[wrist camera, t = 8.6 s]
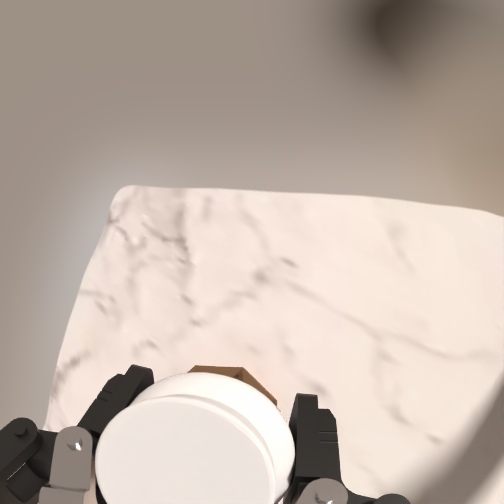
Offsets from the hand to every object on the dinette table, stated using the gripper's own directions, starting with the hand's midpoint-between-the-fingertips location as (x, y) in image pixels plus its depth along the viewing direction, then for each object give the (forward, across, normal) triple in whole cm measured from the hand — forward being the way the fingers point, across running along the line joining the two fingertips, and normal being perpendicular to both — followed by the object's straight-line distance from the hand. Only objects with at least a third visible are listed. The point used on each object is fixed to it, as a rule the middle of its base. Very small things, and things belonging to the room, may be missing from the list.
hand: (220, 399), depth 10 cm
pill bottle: (+2, 0, +4) cm, 5 cm away
